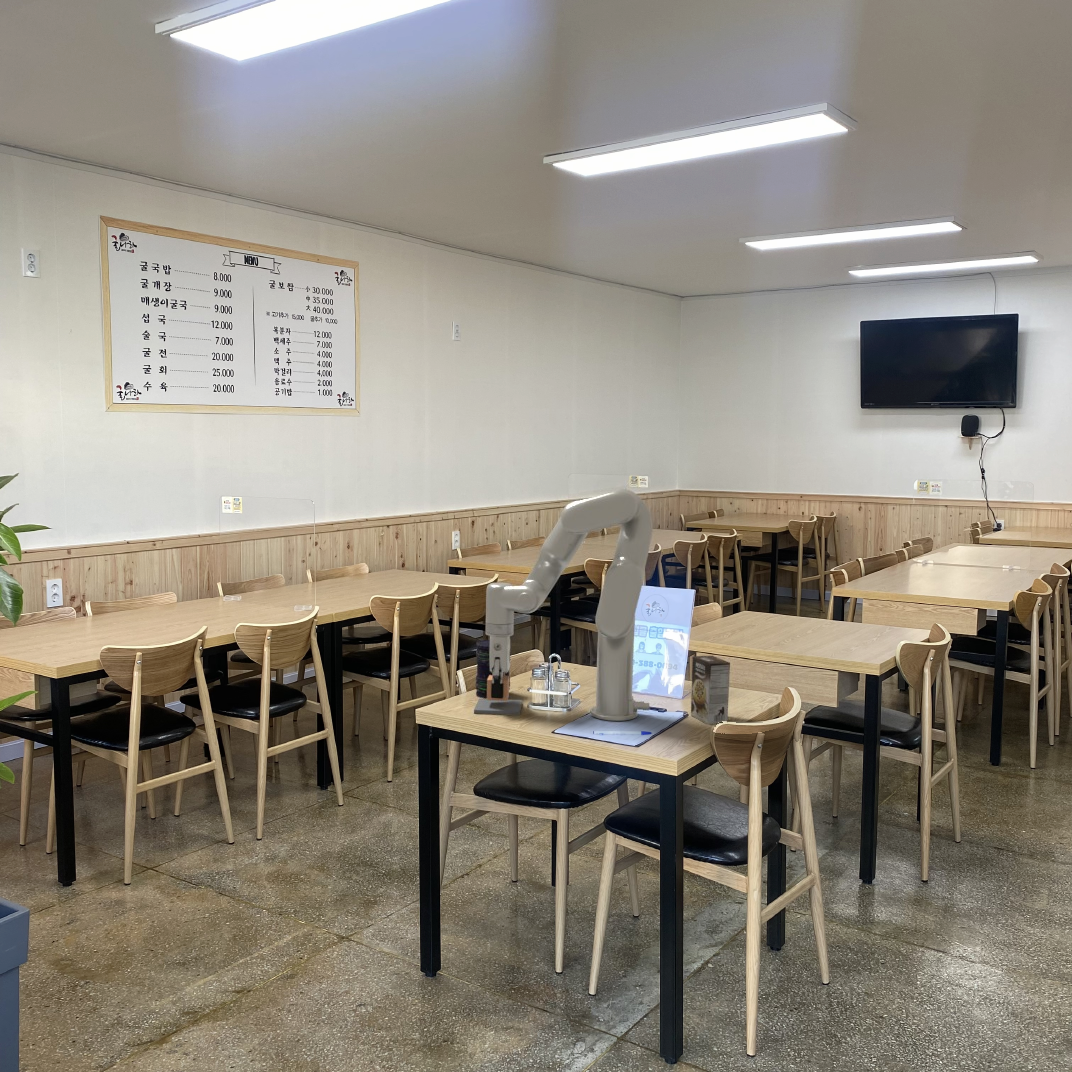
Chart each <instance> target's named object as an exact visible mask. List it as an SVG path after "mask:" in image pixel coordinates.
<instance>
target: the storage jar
mask: <svg viewBox="0 0 1072 1072" xmlns="http://www.w3.org/2000/svg"><path fill="white" fill-rule="evenodd" d="M489 652H490V639H484V640H478V641H477V642H476V652H475V657H476V659H475V661H476V662H475V663H476V676H475V690H476V691H475V695H476V696H475V697H478V698H479V699H487V679H488V677H489V675H492V672H491V671H490V657H489ZM511 652H512V651H510V657H511V655H512V654H511ZM510 661H511V658H510ZM505 676H509V691H511V690H510V689H511V688H510V687H511V676H510V670H509V671H508V672H507V673H505ZM510 695H511V694H510V692H509V696H510Z"/></svg>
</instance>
